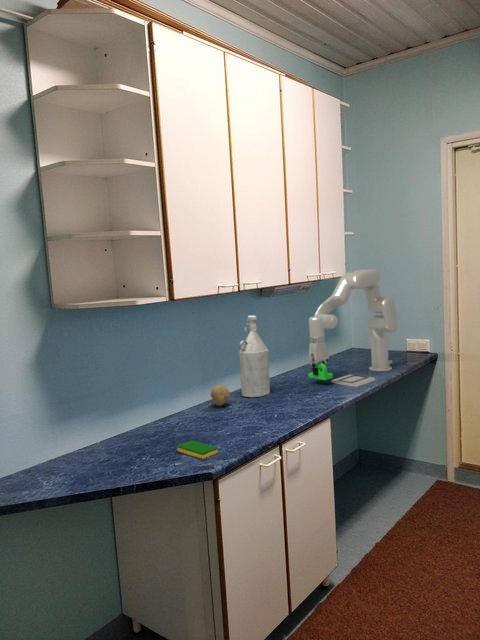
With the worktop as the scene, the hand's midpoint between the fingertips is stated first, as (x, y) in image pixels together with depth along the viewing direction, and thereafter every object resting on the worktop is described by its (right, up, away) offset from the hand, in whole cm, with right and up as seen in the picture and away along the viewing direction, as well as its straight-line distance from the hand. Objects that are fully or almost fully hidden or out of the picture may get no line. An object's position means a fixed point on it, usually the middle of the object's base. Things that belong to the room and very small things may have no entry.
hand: (320, 373), depth 267 cm
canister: (-34, -10, -12) cm, 38 cm away
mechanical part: (0, -2, 0) cm, 2 cm away
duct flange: (+17, -4, 0) cm, 18 cm away
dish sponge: (-57, -19, -88) cm, 107 cm away
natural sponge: (-51, -12, -30) cm, 60 cm away
